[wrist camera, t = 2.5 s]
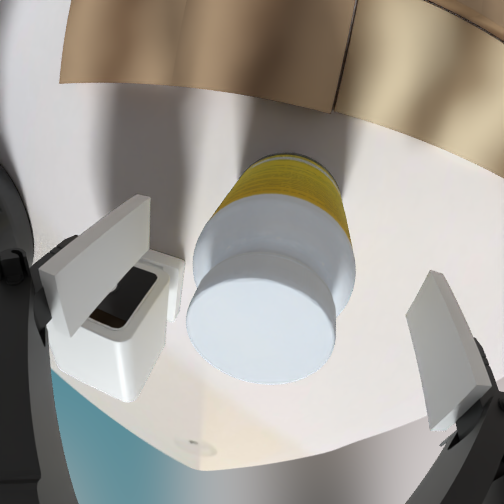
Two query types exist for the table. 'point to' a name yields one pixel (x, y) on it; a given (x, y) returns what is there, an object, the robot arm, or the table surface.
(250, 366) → the pill bottle
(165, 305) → the security camera
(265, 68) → the shelf board
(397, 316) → the table surface
